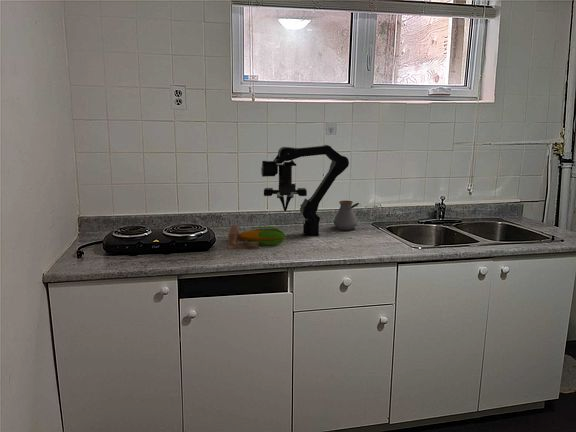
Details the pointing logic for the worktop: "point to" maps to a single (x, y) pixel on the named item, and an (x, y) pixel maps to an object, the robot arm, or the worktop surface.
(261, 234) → the corn
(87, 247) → the worktop surface
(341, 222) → the coffee pot
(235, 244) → the guide bay
